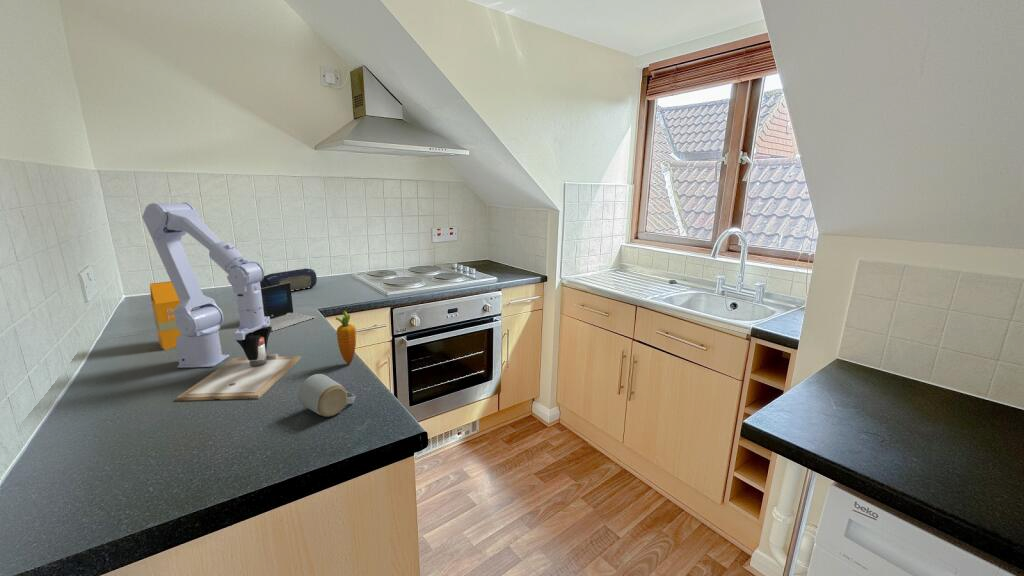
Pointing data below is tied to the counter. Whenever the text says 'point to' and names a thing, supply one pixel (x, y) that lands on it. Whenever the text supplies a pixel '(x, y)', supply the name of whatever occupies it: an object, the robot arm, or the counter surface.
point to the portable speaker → (291, 279)
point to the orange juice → (165, 313)
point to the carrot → (346, 338)
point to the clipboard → (240, 379)
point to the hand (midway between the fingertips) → (257, 356)
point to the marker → (260, 354)
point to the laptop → (280, 306)
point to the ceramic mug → (324, 395)
